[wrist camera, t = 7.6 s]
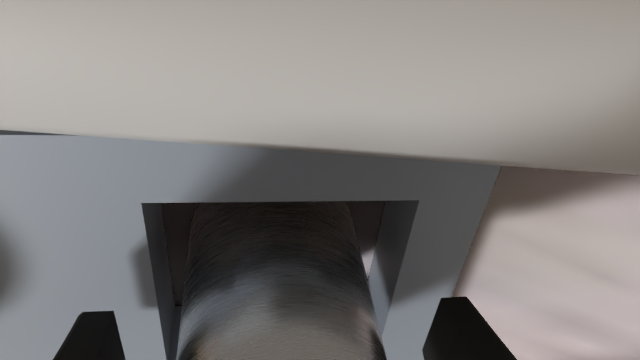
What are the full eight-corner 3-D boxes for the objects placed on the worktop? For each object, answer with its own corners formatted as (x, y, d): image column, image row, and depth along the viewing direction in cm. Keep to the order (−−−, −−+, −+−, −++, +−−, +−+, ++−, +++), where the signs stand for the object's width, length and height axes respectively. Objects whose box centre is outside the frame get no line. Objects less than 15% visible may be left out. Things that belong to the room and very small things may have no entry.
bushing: (349, 279, 16) (406, 550, 10) (202, 293, 15) (181, 582, 10) (356, 164, 13) (439, 449, 8) (177, 176, 13) (130, 489, 7)
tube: (1310, -52, 8) (-1536, -813, 3) (1097, 260, 10) (-880, 183, 4) (889, -35, 13) (-385, -286, 8) (799, 168, 14) (-293, 80, 9)
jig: (403, 327, 18) (419, 381, 16) (-242, 358, 15) (-299, 427, 13) (476, 91, 12) (512, 139, 10) (-535, 67, 9) (-693, 129, 8)
